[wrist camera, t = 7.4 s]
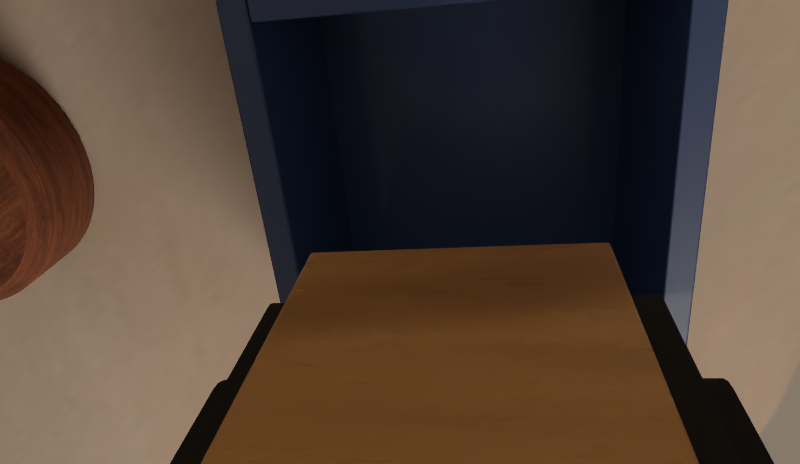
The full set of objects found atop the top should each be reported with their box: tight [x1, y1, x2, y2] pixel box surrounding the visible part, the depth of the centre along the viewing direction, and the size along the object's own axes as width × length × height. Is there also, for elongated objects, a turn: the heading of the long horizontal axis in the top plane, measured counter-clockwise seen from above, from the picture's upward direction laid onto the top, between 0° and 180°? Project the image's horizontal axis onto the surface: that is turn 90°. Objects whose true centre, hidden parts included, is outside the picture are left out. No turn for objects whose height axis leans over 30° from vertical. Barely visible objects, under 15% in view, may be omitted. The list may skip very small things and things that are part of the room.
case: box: [215, 0, 728, 346], centre depth 21 cm, size 16×12×8 cm
